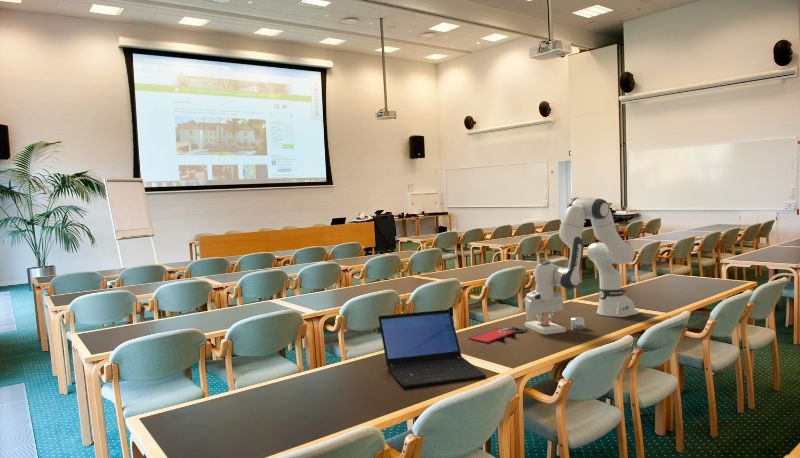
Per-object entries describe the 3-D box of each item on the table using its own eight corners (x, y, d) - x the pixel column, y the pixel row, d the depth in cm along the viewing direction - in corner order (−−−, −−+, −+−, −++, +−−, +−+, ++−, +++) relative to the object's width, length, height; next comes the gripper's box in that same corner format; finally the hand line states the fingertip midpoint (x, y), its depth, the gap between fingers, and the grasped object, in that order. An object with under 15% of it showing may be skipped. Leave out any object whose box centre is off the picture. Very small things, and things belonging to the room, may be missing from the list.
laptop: (403, 390, 199) (401, 338, 198) (379, 360, 235) (377, 315, 234) (487, 379, 208) (485, 329, 206) (451, 351, 244) (450, 308, 242)
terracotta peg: (546, 324, 276) (545, 311, 276) (550, 326, 272) (550, 312, 272) (539, 325, 275) (538, 312, 274) (543, 327, 271) (543, 313, 271)
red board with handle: (531, 331, 270) (506, 327, 281) (531, 326, 269) (506, 322, 280) (494, 346, 249) (468, 341, 260) (494, 340, 249) (468, 335, 260)
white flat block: (544, 323, 284) (544, 319, 284) (565, 331, 267) (565, 327, 267) (524, 325, 280) (524, 322, 280) (544, 334, 263) (544, 330, 263)
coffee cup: (541, 317, 297) (540, 295, 296) (544, 321, 287) (543, 299, 286) (523, 317, 298) (523, 295, 297) (526, 322, 288) (525, 299, 287)
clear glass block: (578, 326, 277) (578, 316, 277) (587, 329, 271) (586, 319, 270) (568, 327, 275) (568, 317, 275) (576, 330, 269) (576, 320, 268)
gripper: (558, 290, 279) (558, 317, 280) (523, 294, 272) (523, 322, 273) (565, 293, 273) (566, 320, 274) (530, 297, 266) (530, 324, 267)
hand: (544, 321), depth 274 cm, fingers closed on terracotta peg, 4 cm apart
